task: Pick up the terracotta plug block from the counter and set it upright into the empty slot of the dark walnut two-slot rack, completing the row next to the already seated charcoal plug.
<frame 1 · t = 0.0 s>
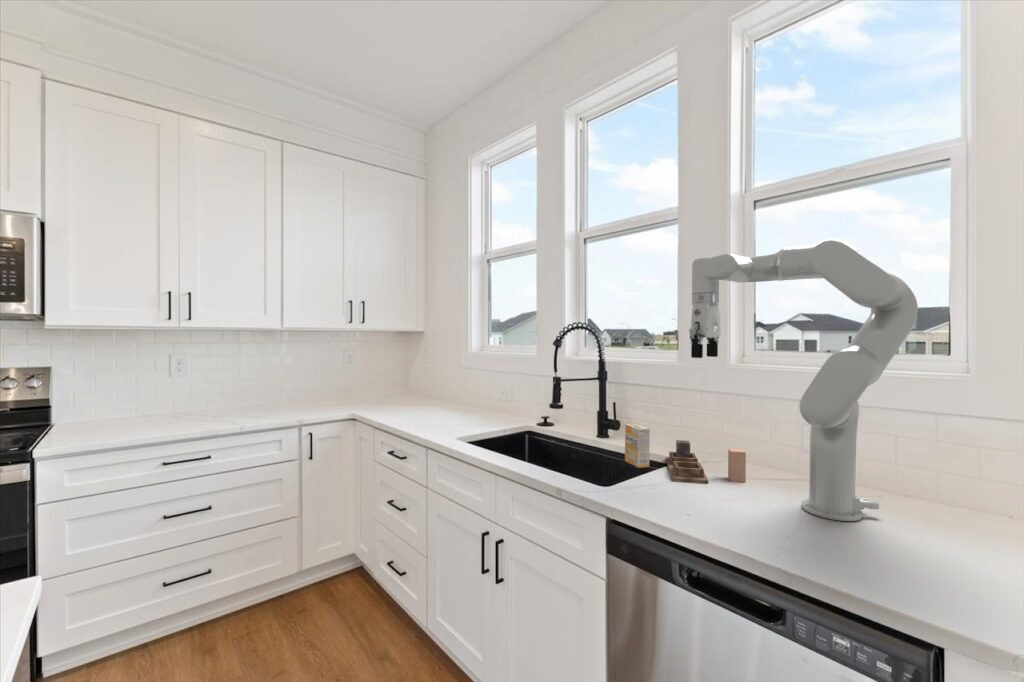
hand: (704, 357, 140), 37 cm above the worktop, tool pointing down, fingers open, 9 cm apart
supplement box: (636, 464, 158), on the worktop
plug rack: (685, 470, 151), on the worktop
terracotta plug: (736, 479, 142), on the worktop
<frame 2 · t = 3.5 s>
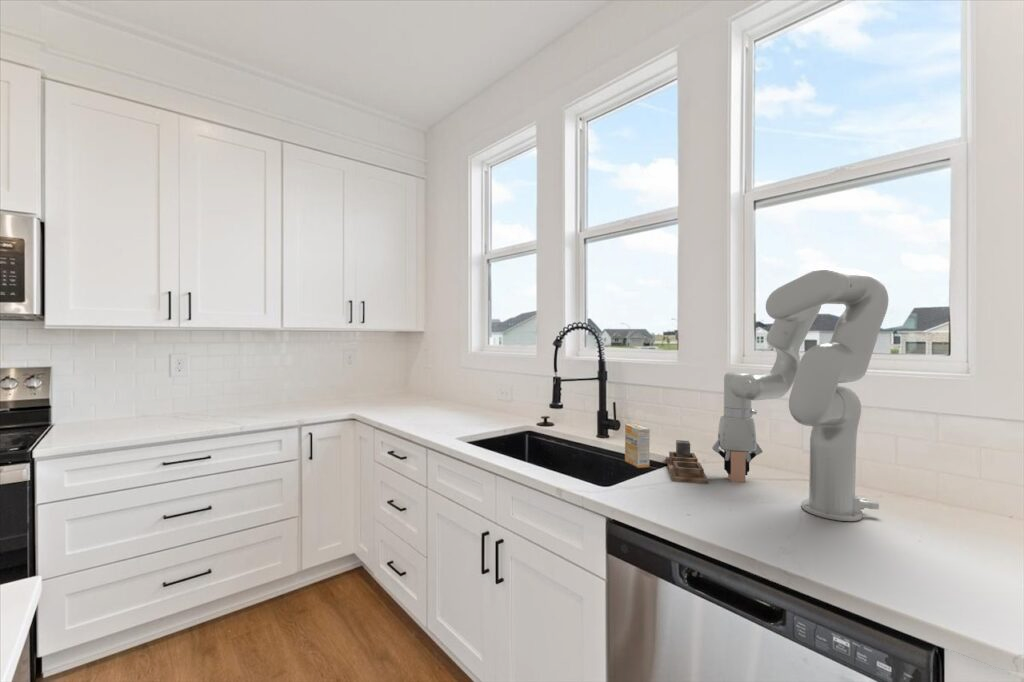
hand: (736, 472, 142), 2 cm above the worktop, tool pointing down, fingers closed on terracotta plug, 4 cm apart
terracotta plug: (736, 479, 142), on the worktop, touching gripper
everything else where it was.
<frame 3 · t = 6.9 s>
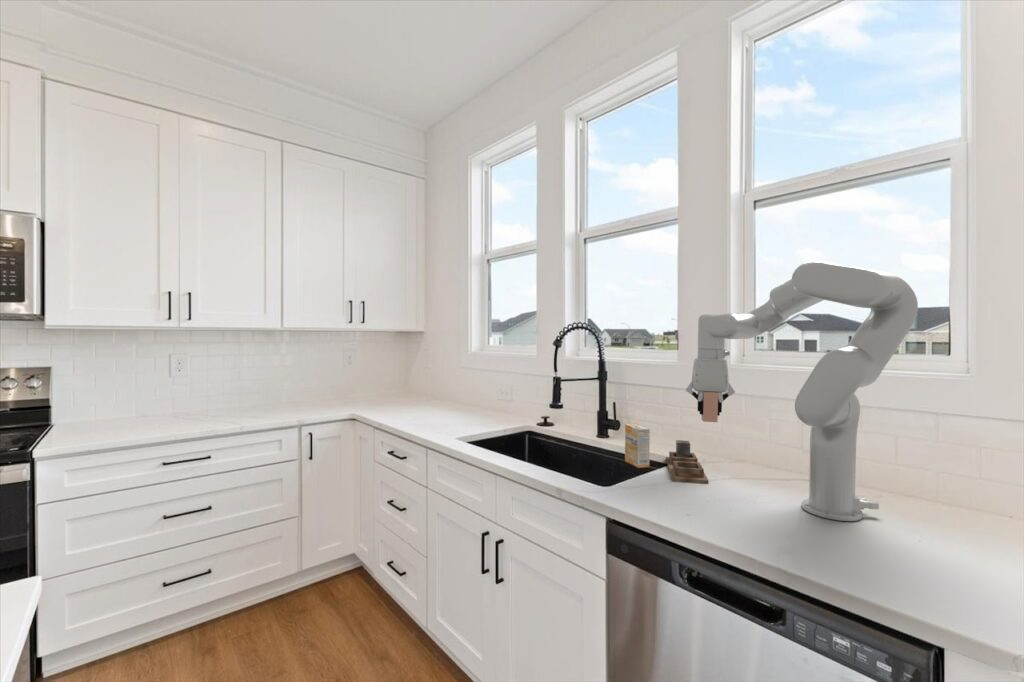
hand: (709, 413, 144), 20 cm above the worktop, tool pointing down, fingers closed on terracotta plug, 4 cm apart
terracotta plug: (709, 420, 144), point 18 cm above the worktop, touching gripper
everything else where it was.
when the fingers open (5 cm above the worktop, at t = 10.5 s): terracotta plug drops 1 cm, resting on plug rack.
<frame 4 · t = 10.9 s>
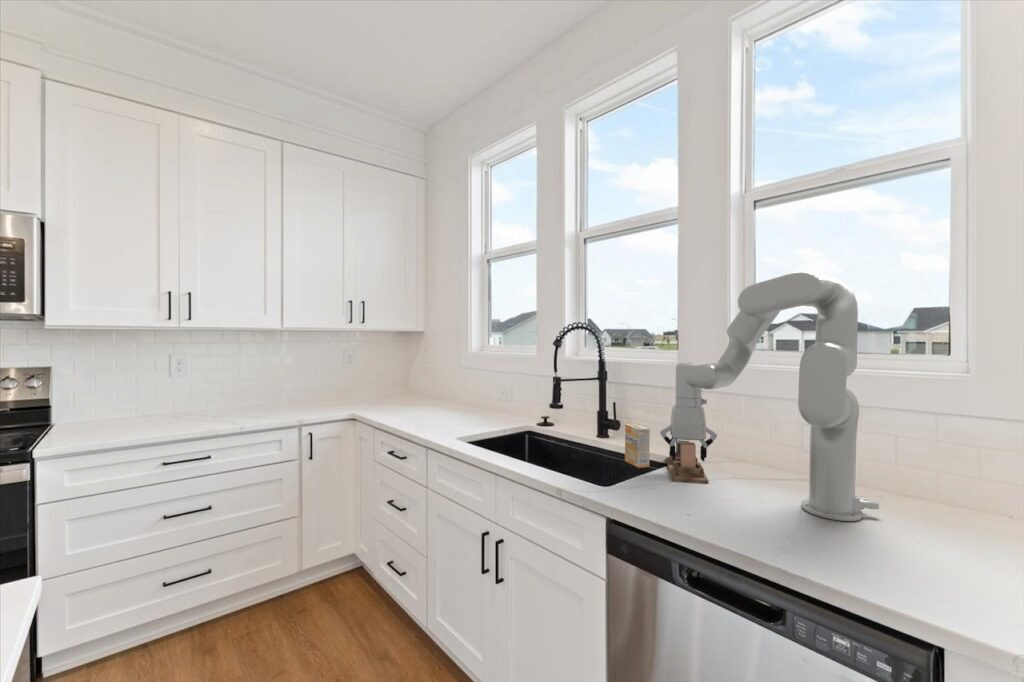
hand: (687, 458, 145), 5 cm above the worktop, tool pointing down, fingers open, 8 cm apart
terracotta plug: (687, 472, 145), point 1 cm above the worktop, touching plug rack
everything else where it was.
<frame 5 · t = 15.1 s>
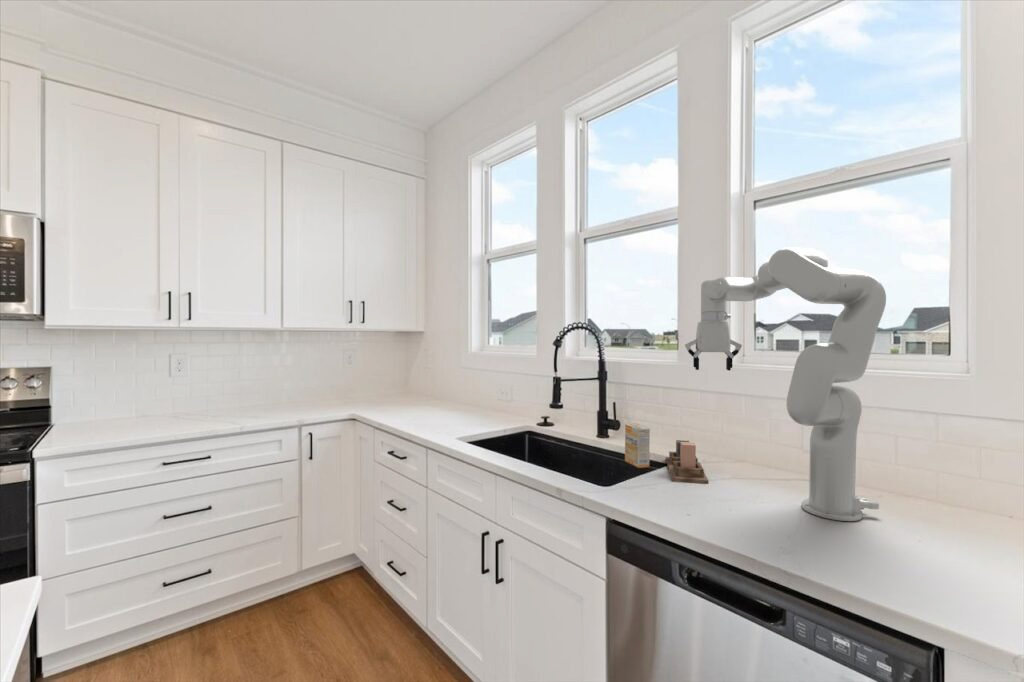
hand: (712, 369, 154), 32 cm above the worktop, tool pointing down, fingers open, 9 cm apart
nothing on the worktop moved.
at the end: terracotta plug 0.0 cm from the target spot on the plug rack, point 1.2 cm above the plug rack's base; terracotta plug tilted 0°; the gripper is holding nothing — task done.
